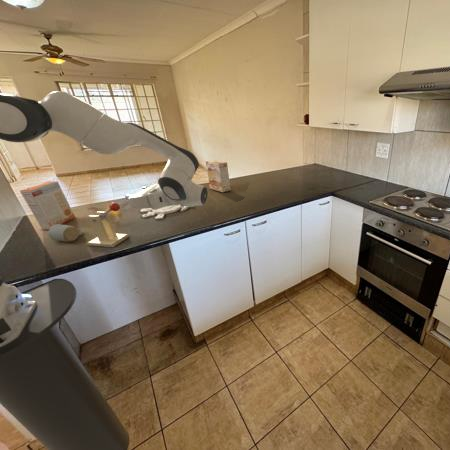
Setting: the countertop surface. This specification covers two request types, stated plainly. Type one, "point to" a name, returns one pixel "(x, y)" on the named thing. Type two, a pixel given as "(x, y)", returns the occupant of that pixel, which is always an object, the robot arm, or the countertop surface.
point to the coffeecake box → (218, 175)
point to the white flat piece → (163, 211)
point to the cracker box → (48, 204)
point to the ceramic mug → (64, 233)
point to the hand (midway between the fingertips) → (135, 192)
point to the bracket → (105, 232)
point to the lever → (112, 208)
